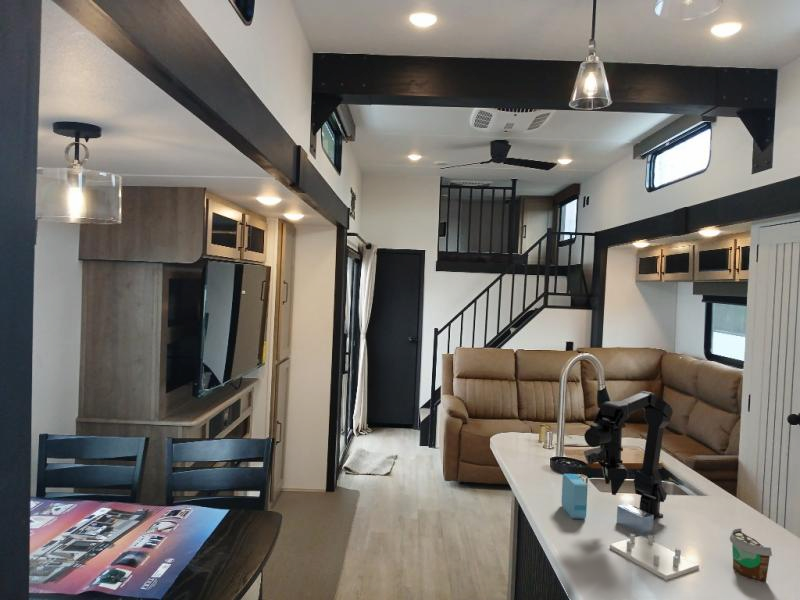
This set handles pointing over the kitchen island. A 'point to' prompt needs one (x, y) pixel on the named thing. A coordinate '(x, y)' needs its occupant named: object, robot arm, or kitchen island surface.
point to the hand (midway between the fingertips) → (610, 489)
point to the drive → (635, 519)
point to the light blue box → (574, 496)
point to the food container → (749, 556)
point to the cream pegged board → (654, 556)
